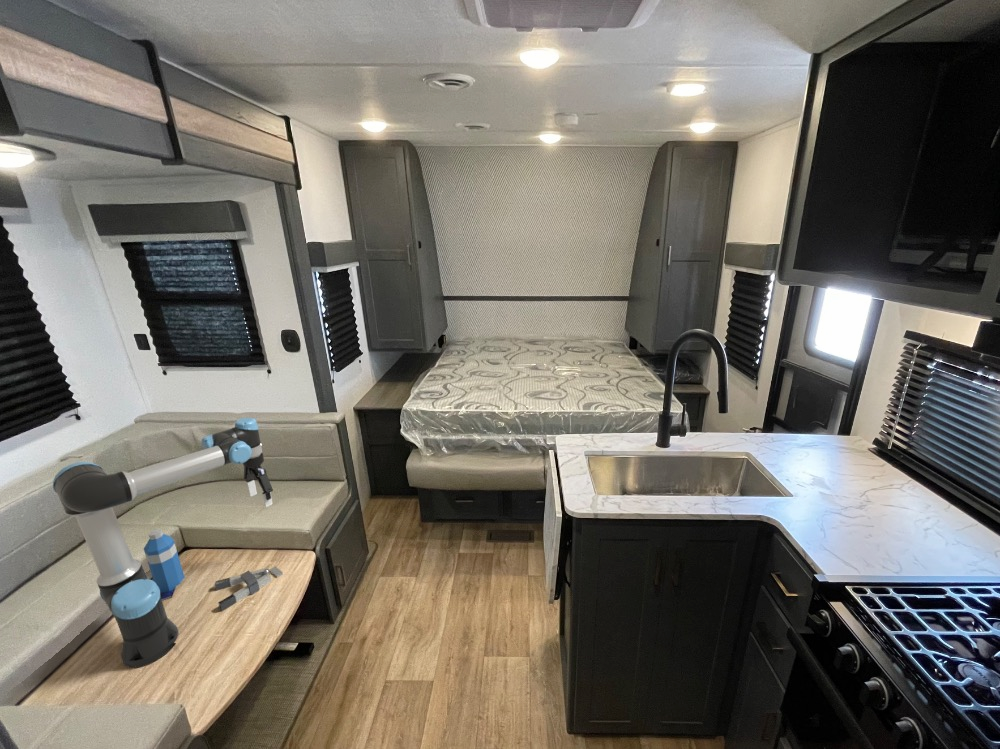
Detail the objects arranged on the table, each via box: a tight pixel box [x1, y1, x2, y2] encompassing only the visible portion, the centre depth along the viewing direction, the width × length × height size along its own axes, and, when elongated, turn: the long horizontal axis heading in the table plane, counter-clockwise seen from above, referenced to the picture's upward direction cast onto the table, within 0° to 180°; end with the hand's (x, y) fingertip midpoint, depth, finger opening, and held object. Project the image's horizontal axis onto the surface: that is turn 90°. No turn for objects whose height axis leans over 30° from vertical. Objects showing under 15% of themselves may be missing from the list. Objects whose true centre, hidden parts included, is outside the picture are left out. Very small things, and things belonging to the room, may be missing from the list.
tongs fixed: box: [217, 566, 284, 612], centre depth 166 cm, size 23×6×3 cm, turn 144°
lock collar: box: [239, 570, 261, 596], centre depth 166 cm, size 3×7×6 cm, turn 54°
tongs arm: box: [214, 567, 271, 591], centre depth 169 cm, size 19×4×4 cm, turn 114°
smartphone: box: [160, 588, 176, 602], centre depth 168 cm, size 7×1×15 cm
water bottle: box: [143, 528, 185, 593], centre depth 167 cm, size 9×9×25 cm
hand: (261, 500), depth 180 cm, fingers open, 13 cm apart
